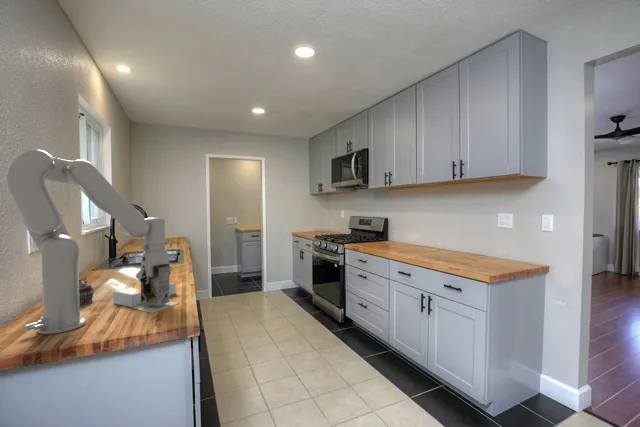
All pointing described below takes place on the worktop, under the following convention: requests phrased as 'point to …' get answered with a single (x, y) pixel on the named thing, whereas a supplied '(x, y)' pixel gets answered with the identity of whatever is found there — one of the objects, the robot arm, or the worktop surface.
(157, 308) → the pad
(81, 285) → the cupcake
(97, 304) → the worktop surface
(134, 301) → the grey l-shaped block
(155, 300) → the coffee box
